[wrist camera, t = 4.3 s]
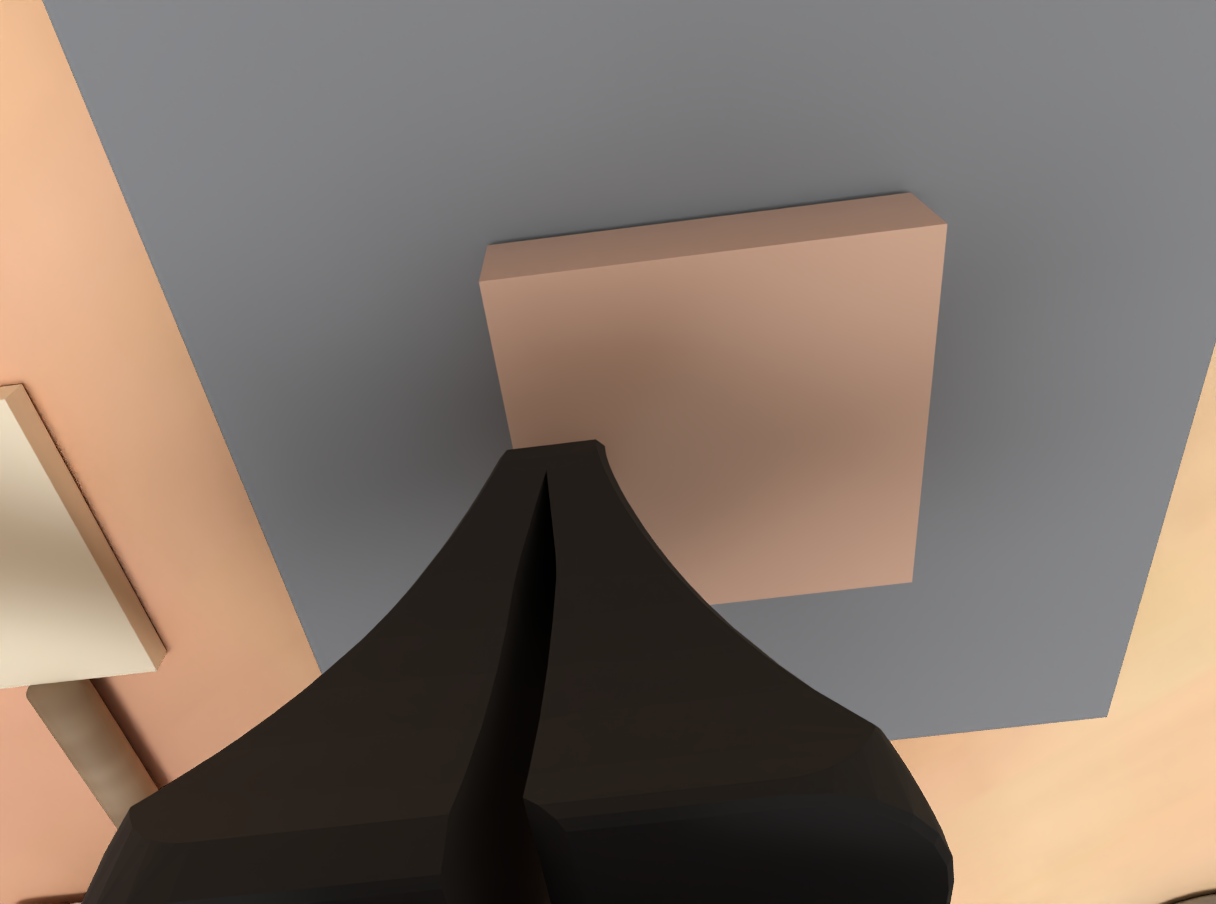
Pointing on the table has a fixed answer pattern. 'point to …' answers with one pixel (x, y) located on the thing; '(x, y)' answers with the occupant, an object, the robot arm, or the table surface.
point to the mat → (678, 191)
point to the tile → (738, 382)
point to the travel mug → (1201, 900)
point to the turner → (66, 609)
